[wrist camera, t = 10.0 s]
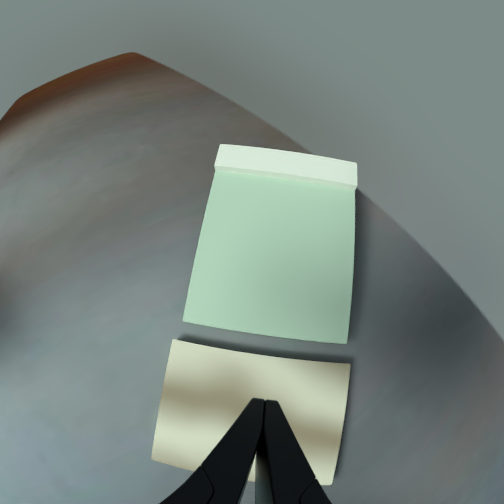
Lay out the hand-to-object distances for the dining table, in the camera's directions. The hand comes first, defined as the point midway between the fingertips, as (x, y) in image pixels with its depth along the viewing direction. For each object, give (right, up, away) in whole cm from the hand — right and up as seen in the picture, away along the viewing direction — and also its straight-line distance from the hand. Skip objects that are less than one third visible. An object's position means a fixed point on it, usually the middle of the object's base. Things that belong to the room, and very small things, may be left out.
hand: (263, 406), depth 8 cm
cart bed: (0, -7, +9) cm, 12 cm away
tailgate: (+1, -1, +12) cm, 12 cm away
